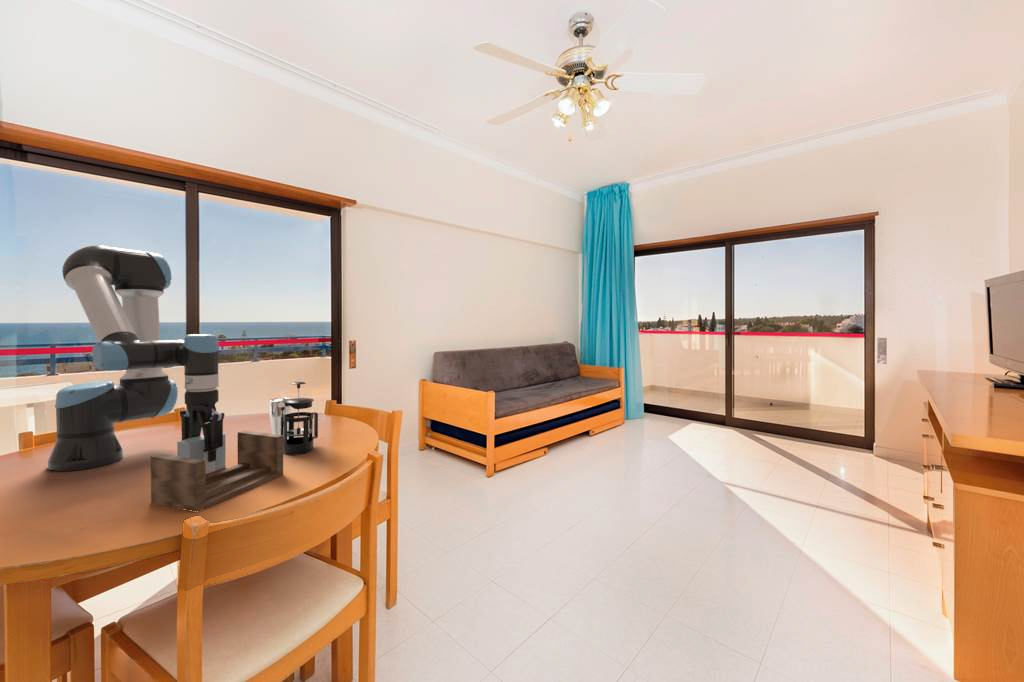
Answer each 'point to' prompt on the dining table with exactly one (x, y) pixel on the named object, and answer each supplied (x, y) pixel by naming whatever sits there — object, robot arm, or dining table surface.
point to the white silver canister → (278, 415)
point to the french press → (298, 443)
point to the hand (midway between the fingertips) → (202, 471)
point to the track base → (216, 474)
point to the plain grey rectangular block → (200, 450)
